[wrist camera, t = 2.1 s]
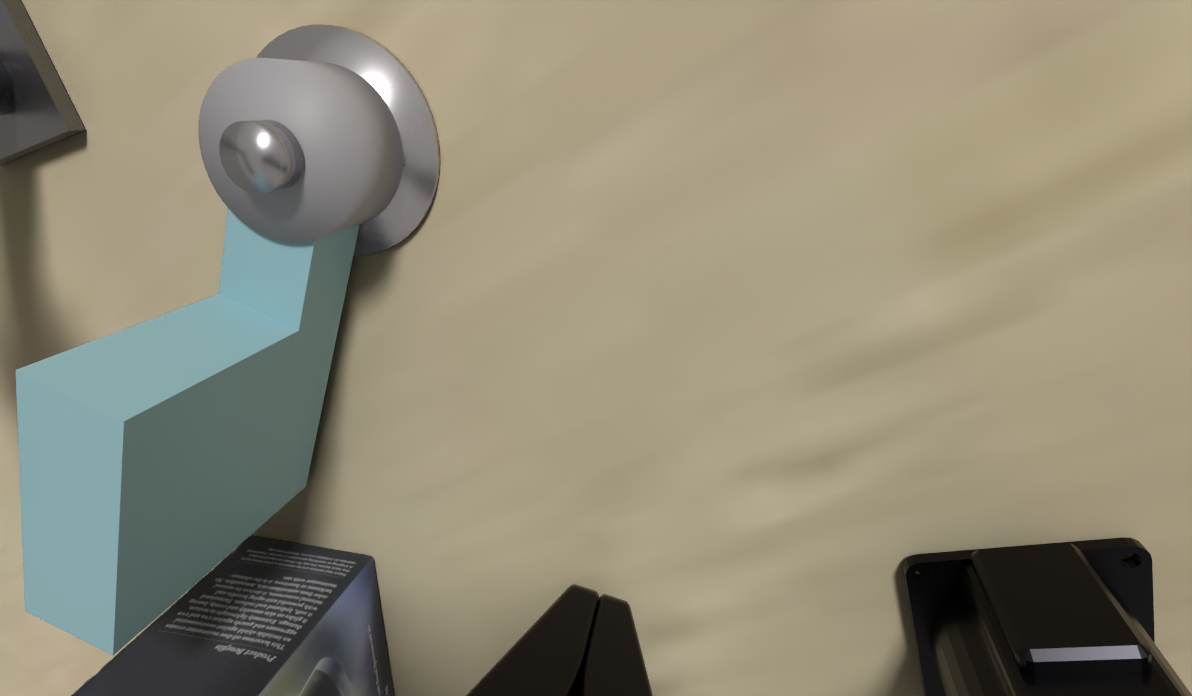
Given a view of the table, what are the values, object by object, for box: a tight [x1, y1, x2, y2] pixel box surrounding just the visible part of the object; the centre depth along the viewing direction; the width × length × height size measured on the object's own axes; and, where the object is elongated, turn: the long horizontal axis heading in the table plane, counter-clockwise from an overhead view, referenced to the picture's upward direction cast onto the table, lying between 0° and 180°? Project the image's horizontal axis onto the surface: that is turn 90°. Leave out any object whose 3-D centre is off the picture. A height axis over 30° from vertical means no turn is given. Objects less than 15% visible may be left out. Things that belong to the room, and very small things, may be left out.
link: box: [16, 58, 403, 655], centre depth 18 cm, size 15×5×8 cm, turn 159°
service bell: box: [219, 25, 440, 256], centre depth 18 cm, size 7×7×4 cm
